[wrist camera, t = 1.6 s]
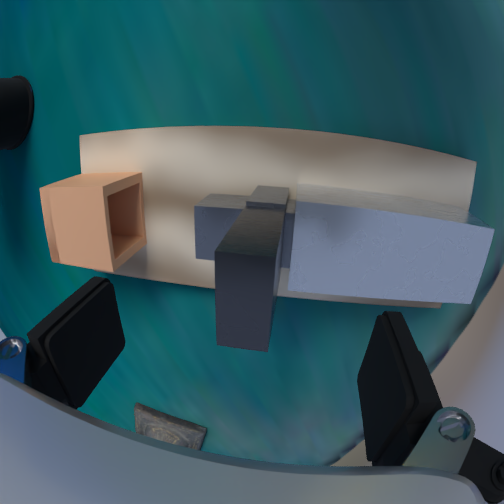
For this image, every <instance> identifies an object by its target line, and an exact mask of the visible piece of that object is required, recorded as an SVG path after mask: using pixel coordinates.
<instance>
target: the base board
mask: <svg viewBox="0 0 504 504" xmlns="http://www.w3.org/2000/svg"><path fill="white" fill-rule="evenodd" d="M80 158H81V174H88V173H115V172H142V182H143V201H144V215H145V228H146V239H147V244H146V245H145V246H143V247H142V248H141V249H140V250H139V251H138V252H136V253H135V254H134V255H133V256H132V257H130V258H129V259H128V260H127V261H126V262H125V263H123V264H122V265H121V266H120V267H119V268H118V269H117V270H115V271H114V272H108V271H102V270H96V269H94V270H95V271H99V272H105V273H111V274H117V275H123V276H130V277H136V278H143V279H149V280H156V281H163V282H170V283H177V284H184V285H191V286H199V287H206V288H214V289H215V261H213V260H203V259H196V255H195V225H194V206H195V205H196V204H197V203H198V202H200V201H201V200H202V199H204V198H205V197H206V196H208V195H209V194H210V193H212V194H229V195H244V196H251V194H252V193H253V191H254V190H255V189H256V187H257V186H258V185H260V186H273V187H286V188H289V196H288V199H294V200H296V193H297V183H301V184H312V185H321V186H331V187H339V188H348V189H356V190H363V191H371V192H378V193H385V194H392V195H398V196H404V197H411V198H417V199H422V200H428V201H434V202H439V203H445V204H450V205H455V206H459V207H461V208H462V209H464V210H466V211H467V212H468V211H469V206H470V201H471V196H472V190H473V184H474V178H475V171H476V163H477V162H475V161H472V160H468V159H465V158H461V157H457V156H453V155H450V154H446V153H442V152H438V151H433V150H429V149H425V148H420V147H415V146H411V145H406V144H401V143H395V142H390V141H384V140H378V139H372V138H366V137H359V136H353V135H345V134H337V133H329V132H320V131H310V130H299V129H286V128H270V127H247V126H182V127H160V128H144V129H132V130H121V131H111V132H102V133H94V134H87V135H80ZM289 271H290V268H281V275H280V281H279V287H278V293H277V296H284V297H293V298H304V299H314V300H325V301H337V302H349V303H361V304H375V305H390V306H406V307H424V308H440V307H441V305H442V302H425V301H409V300H394V299H380V298H367V297H354V296H342V295H331V294H320V293H309V292H299V291H289V290H288V281H289Z"/></svg>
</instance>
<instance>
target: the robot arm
mask: <svg viewBox="0 0 504 504" xmlns="http://www.w3.org/2000/svg"><path fill="white" fill-rule="evenodd" d="M27 336H28V338H29V341H30V342H29V343H28V344H27V343H26V341H25V340H24V339H23V338H21V337H18V336H11V337H8V338H6V339H4V340H2V341H1V342H0V504H504V454H502V453H501V452H499V451H497V450H495V449H494V448H492V447H490V446H488V445H487V444H485V443H483V442H481V441H480V440H478V439H476V438H474V435H475V424H474V422H473V420H472V418H471V417H470V416H469V415H468V414H467V413H466V412H465V411H463V410H462V409H459V408H456V407H445V408H443V407H442V404H441V401H440V399H439V396H438V393H437V390H436V388H435V385H434V383H433V380H432V378H431V375H430V373H429V370H428V368H427V365H426V363H425V361H424V358H423V356H422V354H421V352H420V351H418V349H417V346H416V344H415V342H414V339H413V337H412V335H411V333H410V330H409V328H408V326H407V324H406V322H405V320H404V317H403V315H402V313H401V312H392V311H384V312H383V314H382V315H378V316H377V319H376V322H375V325H374V328H373V332H372V335H371V338H370V341H369V344H368V347H367V350H366V353H365V356H364V359H363V362H362V365H361V367H360V370H359V373H358V379H357V383H358V390H359V397H360V404H361V411H362V419H363V427H364V436H365V445H366V455H367V460H368V461H372V466H360V467H336V466H311V465H294V464H282V463H272V462H264V461H256V460H249V459H242V458H236V457H230V456H224V455H219V454H214V453H209V452H204V451H200V450H195V449H191V448H187V447H183V446H179V445H175V444H171V443H168V442H164V441H161V440H157V439H154V438H150V437H147V436H144V435H141V434H138V433H135V432H132V431H129V430H126V429H123V428H120V427H118V426H115V425H112V424H110V423H107V422H104V421H102V420H99V419H97V418H94V417H92V416H90V415H87V414H85V413H82V412H80V411H78V410H77V408H78V407H81V406H82V405H83V404H84V403H85V401H86V400H87V398H88V397H89V395H90V394H91V393H92V391H93V390H94V388H95V387H96V386H97V384H98V383H99V381H100V380H101V379H102V377H103V376H104V375H105V373H106V372H107V370H108V369H109V368H110V366H111V365H112V364H113V362H114V361H115V360H116V358H117V357H118V356H119V354H120V353H121V352H122V350H123V349H124V346H125V338H124V334H123V329H122V325H121V320H120V316H119V311H118V306H117V301H116V296H115V291H114V286H113V284H112V283H110V280H109V279H107V278H102V277H93V278H91V279H90V280H89V281H88V282H86V283H85V284H84V285H83V286H82V287H80V288H79V289H78V290H77V291H75V292H74V293H73V294H72V295H71V296H69V297H68V298H67V299H66V300H65V301H64V302H62V303H61V304H60V305H59V306H58V307H56V308H55V309H54V310H53V311H52V312H51V313H50V314H48V315H47V316H46V317H45V318H44V319H43V320H42V321H40V322H39V323H38V324H37V325H36V326H35V327H34V328H33V329H32V330H30V331H29V332H28V333H27Z"/></svg>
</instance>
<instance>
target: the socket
mask: <svg viewBox="0 0 504 504" xmlns="http://www.w3.org/2000/svg"><path fill="white" fill-rule="evenodd" d="M40 196H41V204H42V211H43V217H44V223H45V229H46V235H47V240H48V245H49V250H50V254H51V259H52V262H56V263H62V264H67V265H73V266H79V267H85V268H90V269H96V270H102V271H108V272H114V271H115V270H117V269H118V268H119V267H120V266H121V265H122V264H123V263H125V262H126V261H127V260H128V259H129V258H130V257H132V256H133V255H134V254H135V253H136V252H138V251H139V250H140V249H141V248H142V247H143V246H145V245H146V244H147V239H146V228H145V215H144V201H143V182H142V172H115V173H88V174H79V175H76V176H73V177H70V178H67V179H64V180H61V181H58V182H55V183H52V184H49V185H47V186H44V187H41V188H40Z"/></svg>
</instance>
